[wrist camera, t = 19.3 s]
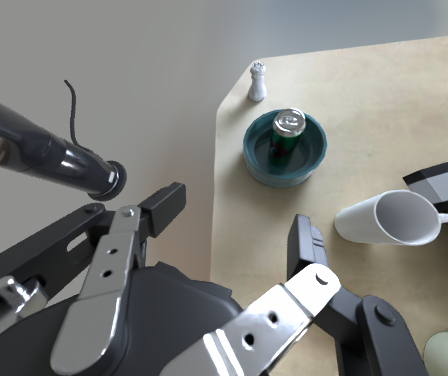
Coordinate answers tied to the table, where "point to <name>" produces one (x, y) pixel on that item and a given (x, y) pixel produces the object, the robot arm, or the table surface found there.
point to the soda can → (285, 135)
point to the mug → (391, 220)
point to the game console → (431, 185)
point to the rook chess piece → (257, 82)
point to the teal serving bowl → (301, 160)
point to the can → (437, 355)
